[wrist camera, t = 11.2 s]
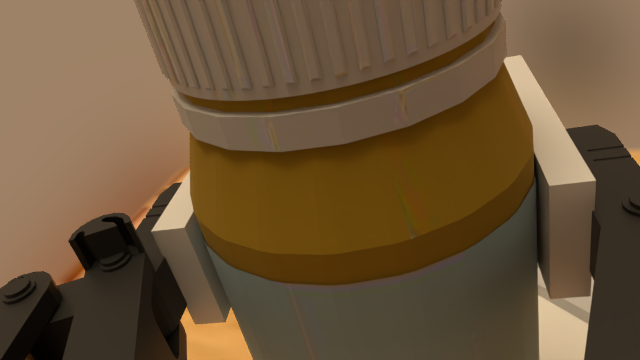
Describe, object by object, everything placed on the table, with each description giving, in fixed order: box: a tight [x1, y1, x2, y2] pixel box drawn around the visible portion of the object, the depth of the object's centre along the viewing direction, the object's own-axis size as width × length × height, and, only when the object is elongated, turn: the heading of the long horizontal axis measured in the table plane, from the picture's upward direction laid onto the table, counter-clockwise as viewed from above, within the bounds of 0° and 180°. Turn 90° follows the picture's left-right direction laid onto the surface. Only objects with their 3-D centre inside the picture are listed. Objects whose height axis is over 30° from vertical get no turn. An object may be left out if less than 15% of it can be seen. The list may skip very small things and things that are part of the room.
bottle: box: [134, 0, 539, 360], centre depth 12 cm, size 7×7×15 cm
